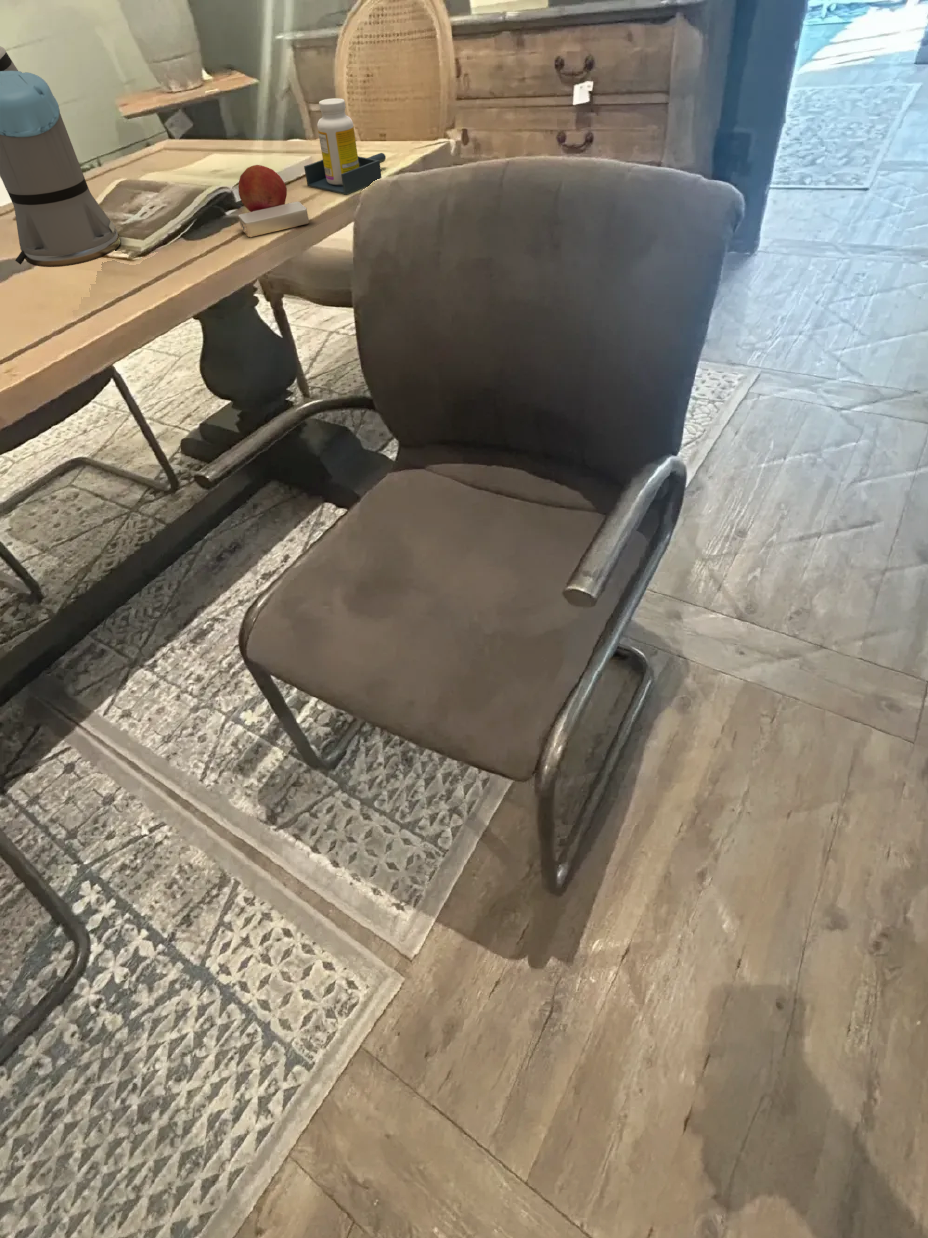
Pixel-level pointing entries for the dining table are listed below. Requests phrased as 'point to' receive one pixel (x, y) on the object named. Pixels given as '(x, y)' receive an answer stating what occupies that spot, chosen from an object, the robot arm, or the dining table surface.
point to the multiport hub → (273, 219)
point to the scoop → (346, 175)
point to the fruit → (261, 188)
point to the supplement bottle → (336, 140)
